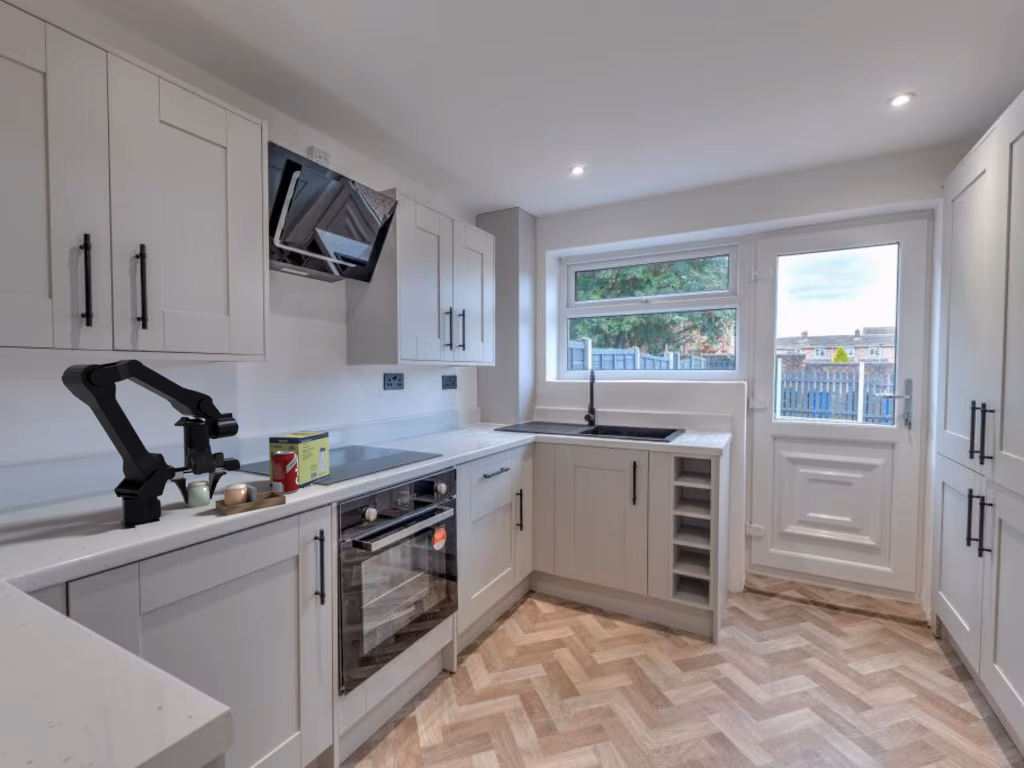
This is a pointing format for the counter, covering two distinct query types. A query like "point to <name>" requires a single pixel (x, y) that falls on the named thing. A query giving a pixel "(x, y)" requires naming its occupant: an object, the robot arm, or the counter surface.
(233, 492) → the terracotta jar
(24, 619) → the counter surface
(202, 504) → the sage jar
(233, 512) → the wooden tray
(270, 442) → the protein box
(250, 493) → the bar
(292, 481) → the soda can
